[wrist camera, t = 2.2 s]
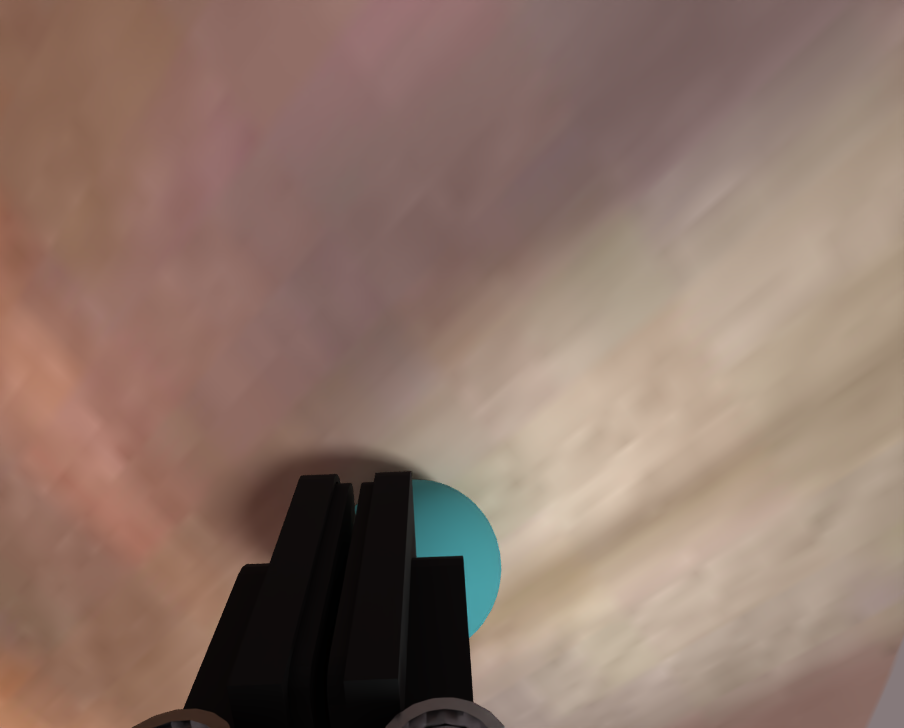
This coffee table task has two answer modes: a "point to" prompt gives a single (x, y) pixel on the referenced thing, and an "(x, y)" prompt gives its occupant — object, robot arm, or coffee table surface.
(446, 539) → the ball
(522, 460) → the coffee table surface
